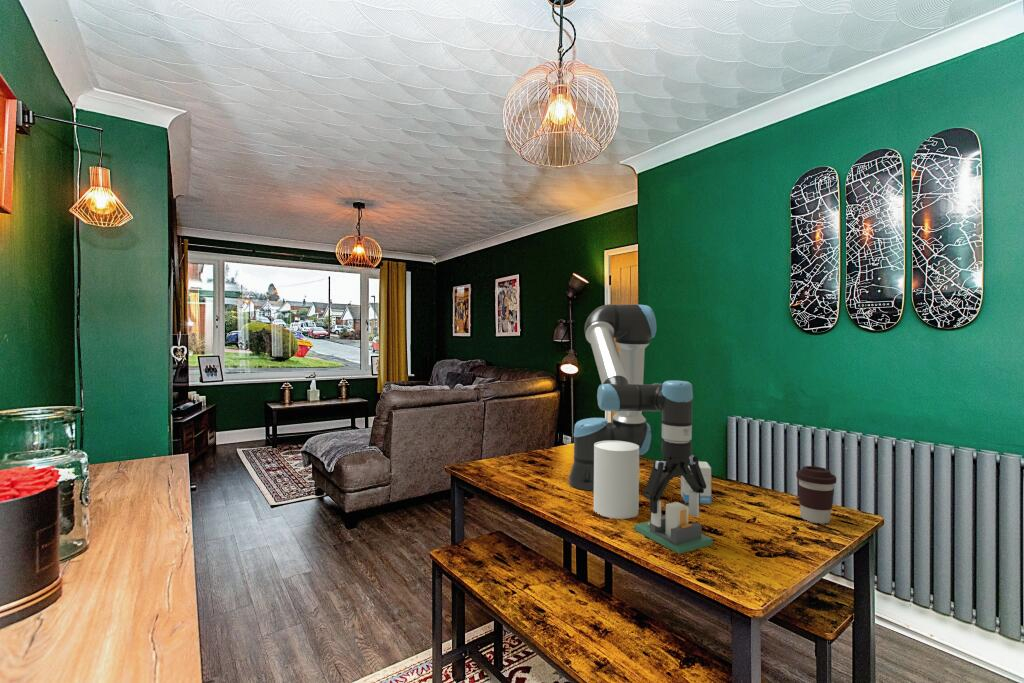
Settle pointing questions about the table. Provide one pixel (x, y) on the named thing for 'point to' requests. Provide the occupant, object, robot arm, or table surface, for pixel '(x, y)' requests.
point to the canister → (616, 479)
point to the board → (671, 546)
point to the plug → (676, 516)
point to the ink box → (706, 495)
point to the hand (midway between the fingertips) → (675, 520)
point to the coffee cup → (815, 493)
